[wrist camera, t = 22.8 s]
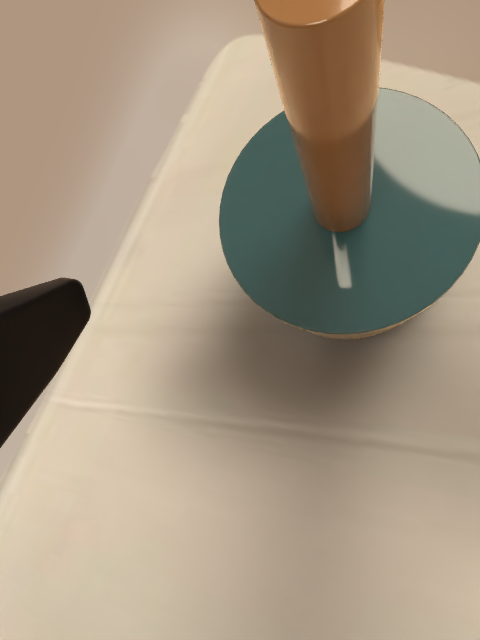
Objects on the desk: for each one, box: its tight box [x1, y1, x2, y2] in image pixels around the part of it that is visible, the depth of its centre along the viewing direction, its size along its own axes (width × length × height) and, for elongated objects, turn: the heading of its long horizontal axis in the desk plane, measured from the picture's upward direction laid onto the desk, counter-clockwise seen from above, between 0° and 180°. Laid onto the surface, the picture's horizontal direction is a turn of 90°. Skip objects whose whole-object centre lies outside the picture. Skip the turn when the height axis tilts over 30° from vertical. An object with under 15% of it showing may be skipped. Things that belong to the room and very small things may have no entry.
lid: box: [219, 0, 480, 336], centre depth 12 cm, size 10×10×11 cm
